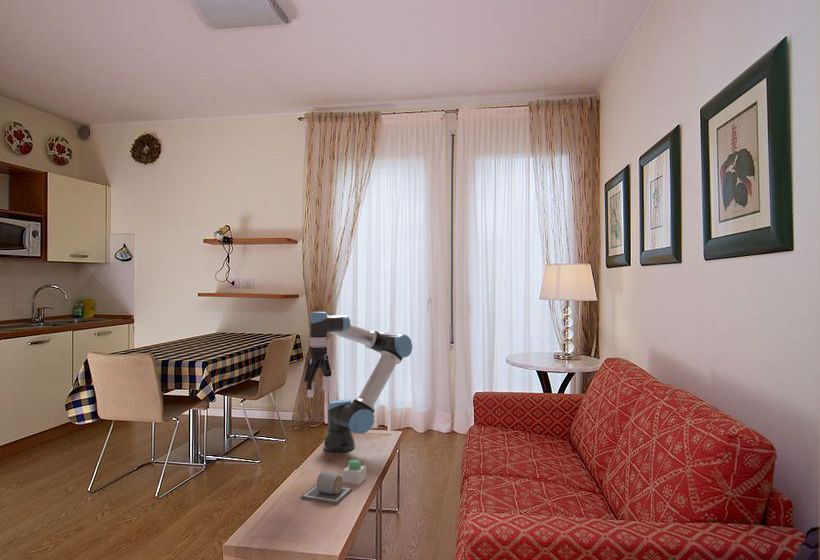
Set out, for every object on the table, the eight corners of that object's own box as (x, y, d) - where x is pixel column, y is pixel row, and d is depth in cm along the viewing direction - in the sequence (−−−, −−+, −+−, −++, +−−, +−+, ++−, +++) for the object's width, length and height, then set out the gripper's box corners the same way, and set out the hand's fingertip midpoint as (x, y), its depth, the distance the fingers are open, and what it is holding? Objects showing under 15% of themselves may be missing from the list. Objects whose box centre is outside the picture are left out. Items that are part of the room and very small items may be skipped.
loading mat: (318, 485, 194) (318, 483, 194) (352, 490, 189) (352, 488, 189) (300, 498, 182) (301, 496, 182) (336, 504, 177) (336, 502, 177)
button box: (350, 476, 204) (350, 464, 204) (365, 478, 202) (366, 466, 202) (343, 482, 197) (343, 470, 197) (358, 484, 195) (358, 472, 195)
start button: (351, 463, 203) (351, 458, 203) (362, 464, 201) (362, 460, 201) (346, 467, 198) (346, 462, 198) (357, 469, 196) (357, 464, 196)
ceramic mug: (334, 498, 180) (335, 477, 180) (315, 495, 183) (315, 474, 183) (347, 487, 190) (348, 467, 190) (329, 484, 193) (329, 465, 193)
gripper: (324, 343, 230) (324, 387, 230) (296, 349, 207) (295, 399, 206) (339, 343, 228) (338, 388, 228) (311, 350, 204) (311, 400, 204)
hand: (318, 393), depth 217 cm, fingers open, 13 cm apart
